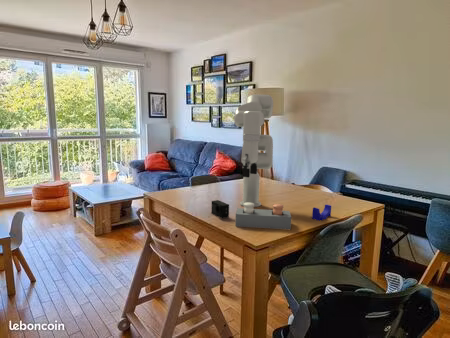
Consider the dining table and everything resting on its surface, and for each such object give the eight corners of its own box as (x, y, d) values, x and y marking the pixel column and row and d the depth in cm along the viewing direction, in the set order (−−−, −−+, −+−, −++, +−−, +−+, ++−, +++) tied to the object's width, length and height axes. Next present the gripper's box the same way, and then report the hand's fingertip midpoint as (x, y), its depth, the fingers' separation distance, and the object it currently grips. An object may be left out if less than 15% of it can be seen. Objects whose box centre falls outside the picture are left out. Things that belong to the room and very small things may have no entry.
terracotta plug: (272, 215, 150) (272, 203, 149) (282, 215, 149) (283, 204, 148) (272, 218, 145) (273, 206, 144) (283, 219, 144) (283, 207, 143)
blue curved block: (319, 221, 156) (320, 210, 155) (312, 218, 159) (312, 207, 158) (333, 217, 163) (333, 206, 162) (325, 215, 166) (326, 204, 165)
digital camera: (209, 213, 164) (209, 201, 162) (217, 212, 167) (217, 199, 166) (220, 219, 155) (220, 205, 154) (228, 217, 158) (229, 204, 157)
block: (236, 219, 155) (237, 208, 154) (288, 222, 152) (289, 210, 151) (235, 226, 145) (235, 214, 144) (290, 229, 142) (291, 217, 141)
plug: (243, 213, 151) (244, 202, 150) (253, 214, 151) (254, 202, 150) (243, 216, 146) (243, 204, 145) (253, 217, 146) (254, 205, 145)
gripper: (250, 137, 148) (248, 171, 150) (236, 139, 132) (235, 177, 135) (264, 138, 145) (263, 173, 147) (252, 139, 129) (250, 179, 132)
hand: (249, 175), depth 141 cm, fingers open, 9 cm apart
